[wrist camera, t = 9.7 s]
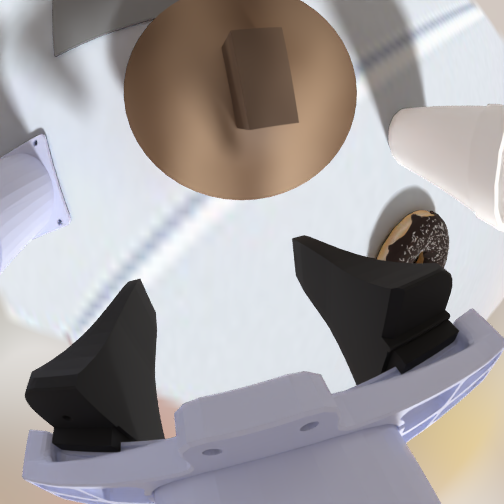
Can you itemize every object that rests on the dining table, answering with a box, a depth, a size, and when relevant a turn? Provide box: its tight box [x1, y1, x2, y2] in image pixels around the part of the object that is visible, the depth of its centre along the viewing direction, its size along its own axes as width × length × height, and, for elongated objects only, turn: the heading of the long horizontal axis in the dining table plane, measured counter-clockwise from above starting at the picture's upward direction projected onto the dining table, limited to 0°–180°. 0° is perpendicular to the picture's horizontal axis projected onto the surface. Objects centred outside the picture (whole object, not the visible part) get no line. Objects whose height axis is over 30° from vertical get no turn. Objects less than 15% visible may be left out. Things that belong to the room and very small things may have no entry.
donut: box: [377, 210, 449, 268], centre depth 28 cm, size 11×12×4 cm
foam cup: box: [388, 104, 504, 232], centre depth 17 cm, size 10×9×13 cm
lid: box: [124, 0, 357, 200], centre depth 12 cm, size 14×14×4 cm
